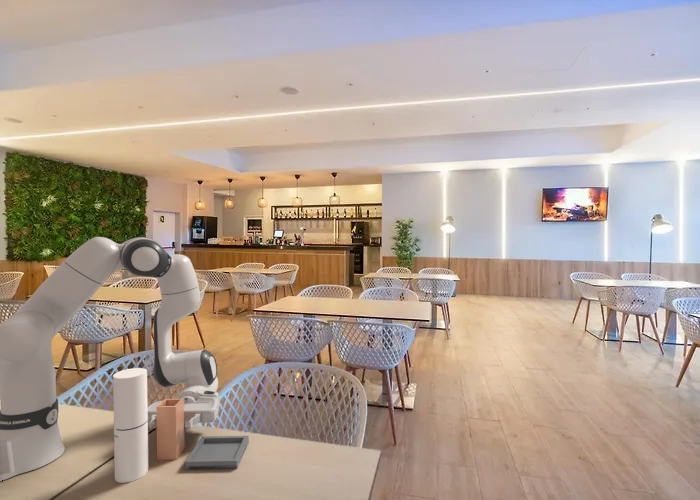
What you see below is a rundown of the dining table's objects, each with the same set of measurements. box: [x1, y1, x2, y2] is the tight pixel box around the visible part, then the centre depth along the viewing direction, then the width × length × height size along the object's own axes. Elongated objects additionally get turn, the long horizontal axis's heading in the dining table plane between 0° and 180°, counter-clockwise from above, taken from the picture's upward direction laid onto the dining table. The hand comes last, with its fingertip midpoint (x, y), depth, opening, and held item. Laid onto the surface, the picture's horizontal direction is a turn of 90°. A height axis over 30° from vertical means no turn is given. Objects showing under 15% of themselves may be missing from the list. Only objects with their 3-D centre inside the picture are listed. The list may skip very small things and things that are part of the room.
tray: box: [184, 435, 249, 471], centre depth 99 cm, size 13×12×2 cm
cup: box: [156, 398, 185, 461], centre depth 99 cm, size 5×5×14 cm
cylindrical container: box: [112, 367, 149, 483], centre depth 91 cm, size 7×7×25 cm
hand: (169, 425), depth 99 cm, fingers open, 8 cm apart
